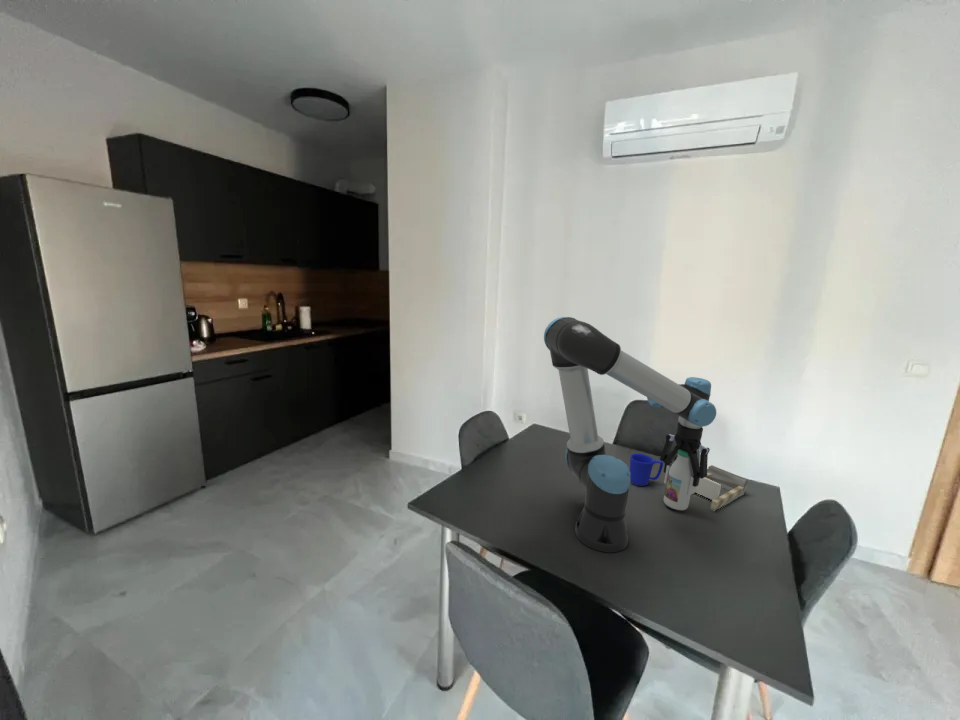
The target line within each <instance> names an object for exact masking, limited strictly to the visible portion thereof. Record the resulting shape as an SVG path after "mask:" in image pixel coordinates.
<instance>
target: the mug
mask: <svg viewBox="0 0 960 720" xmlns="http://www.w3.org/2000/svg"><path fill="white" fill-rule="evenodd" d="M629 458H630V460H629V470H630V481H631V482H630V483H632V484H633V485H636V486H641V487H644V486H645V487H646V486H647V485H648V484H649V481H650V480H652V481H655V480H658V479H659V478H660V475H661V473H662V470H663V467H664V462H663V461H661V460H656V459H655V460H654V458H652V457H651V456H649V455H646V454H643V453H633V454H631V455H630V457H629ZM655 464H659V468H658V472H657V473H656V475H655V476H654V477H651V474H652V471H653V467H654V465H655Z"/></svg>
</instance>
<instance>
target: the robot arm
mask: <svg viewBox="0 0 960 720" xmlns="http://www.w3.org/2000/svg"><path fill="white" fill-rule="evenodd" d="M543 341H544V344H545V346H546V348H547V350H549V352H550V359H551V365H552V366H553V368H555V369H557V371H558V374H559V380H560V387H561V392H562V399H563V403H564V410H565V414H566V421H567V427H568V433H569V437H570V438H569V439H568V441H567V442H566V449H565V454H564V456H565V457H564V458H565V463H566V464H567V468H568V470H569V471H570V472H571V473H572V475H574V477H575V478H576V479H577V481H578V482H579V483H580V484H581V486H582V487H583V489H584V490H585V495H584V502H583V503H584V504H583V505H584V506H583V509H582V510H581V512H580V514H579V516H578V518H577V520H576V522H575V529H574V532H575V535H576V537H577V539H578V540H579V541H580V542H581V543H582V544H583V545H585V546H586V547H589V548H590V549H593V550H595V551H597V552H598V551H599V552H603V553H617V552H622V551H623V550H624V549H626V547H627V546H628V542H629V531H628V529H627V528H628V527H627V522H626V511H627V504H628V498H629V491H630V487H631V483H632V482H631V481H630V467H629V466H628V465H627V464H626V463H625V462H624V461H623V460H621V459H620V458H616V457H615V456H613V455H608V454H606V447H605V442H604V441H605V440H604V439H603V437H601V436H600V435H599V433H598V427H597V421H596V414H595V407H594V401H593V395H592V389H591V383H590V376H589V370H591V371H592V372H594V373H597V374H598V375H600V376H604V375H608V376H609V377H610V378H612V379H614V380H616V381H617V382H619V383H621V384H623V385H624V386H626V387H628V388H630V389H632V390H634V391H635V392H637V393H638V394H641V395H642V396H644V397H646V399H647V402H648V404H649V405H650V406H651V407H653V408H658V409H661V408H664V409H667V410H668V411H670V412H672V413H673V414H675V415H677V416H678V423H677V426H676V431H675V432H676V433H675V435H674V434H672V433H669V434H666V435H665V444H664V446H663V449H662V452H661V454H660V457H659V461H662V462H663V464H664V465H663V467H664V468H663V473H664V474H665V476H664V481H663V484H665V485H666V483H667V478H668V473H669V470H670V467H671V466H672V464H673V463H674V460H676V459H675V458H677V456H678V455H677V452H678V449H681V450H683V451H686V452H688V456H689V457H690V461H691V466H692V471H693V476H691V478H690V483H689V488H688V493H687V494H688V495H690V496H692V495H693V494H695V493H694V490H695V487H696V486H698V484H699V480H700V478H701V479H702V478H705V477H707V472H708V458H709V457H708V456H709V453H710V450H711V449H710V447H705V446H704V445H702V442H701V440H702V437H703V431H704V427H708V426H710V424H712V423H713V422H714V420H715V419H716V417H717V408H716V406H715V404H713V403H712V402H711V401H710V398H711V397H710V396H711V391H712V383H711V382H710V381H709V380H708V379H706V378H703V377H702V378H701V377H695V376H689V377H687V378H686V379H685V382H684V383H682V384H680V383H679V384H678V383H677V382H675V381H673V380H672V379H670V378H669V377H667V376H665V375H663V374H661V372H658V371H657V370H655V369H653V368H651V367H650V366H648V365H647V364H645V363H643V362H642V361H640V360H638V359H637V358H635V357H633V356H632V355H630V354H629V353H626V352H625V351H623V350H622V347H621V345H620V344H619V343H617V342H616V341H614V340H612V339H611V338H609V337H608V336H607V335H605V334H604V333H603V332H601V331H600V330H599V329H597V328H596V327H594V326H593V325H592V324H590V323H587V322H586V321H582V320H578V319H576V318H574V317H571V316H561V317H557V318H555V319H553V320H551V321H550V322H549V323H548V324H547V326H546V327H545V329H544V332H543ZM674 441H675V444H676V445H675V446H674V448H673V450H672V451H671V449H672V446H673V443H674ZM698 450H699V453H700V454H699V458H698ZM670 451H671V452H670Z"/></svg>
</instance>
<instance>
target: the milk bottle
mask: <svg viewBox="0 0 960 720" xmlns="http://www.w3.org/2000/svg"><path fill="white" fill-rule="evenodd" d="M674 460H675V461H673V463H671V464H672V466H671V467H670V470H669V473H668V478H667V483H666V484H665V490H664V496H663V502H664V504H665V506H667V507H669V508H671V509H674V510H676V511H686V510H687V509H688V508H689V504H690V501H691V499H690V498H691V495H688V494H687V493H688V488H689V483H690V478H691V476H693V471H692V466H691V461H690V457H689V456H688V452H686V451H683V450H681V449H678V452H677V456H676V459H674Z"/></svg>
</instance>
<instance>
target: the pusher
mask: <svg viewBox="0 0 960 720" xmlns="http://www.w3.org/2000/svg"><path fill="white" fill-rule="evenodd" d="M721 485H722V484H719V483H717V482H715V481H712V480H710V479H708V478H702V479H701V478H700V480H699V484H698V486H696V487H695V490H694V492H696V493H698V494H700V495H703V496H705V497H708V498H710V499H712V500H714V499H716V498H718V497H719V496H721V495H720V494H721V489H722V487H721ZM698 494H697V495H698ZM700 495H699V496H700Z"/></svg>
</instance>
